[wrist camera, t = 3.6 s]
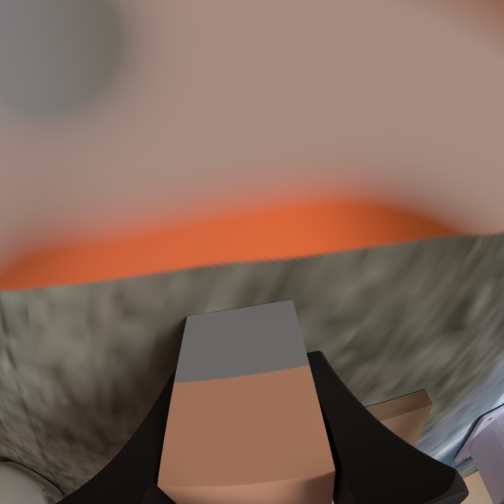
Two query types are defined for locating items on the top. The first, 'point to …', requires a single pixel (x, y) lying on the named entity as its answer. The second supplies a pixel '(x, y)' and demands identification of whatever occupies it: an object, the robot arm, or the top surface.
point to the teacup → (25, 486)
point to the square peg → (245, 413)
